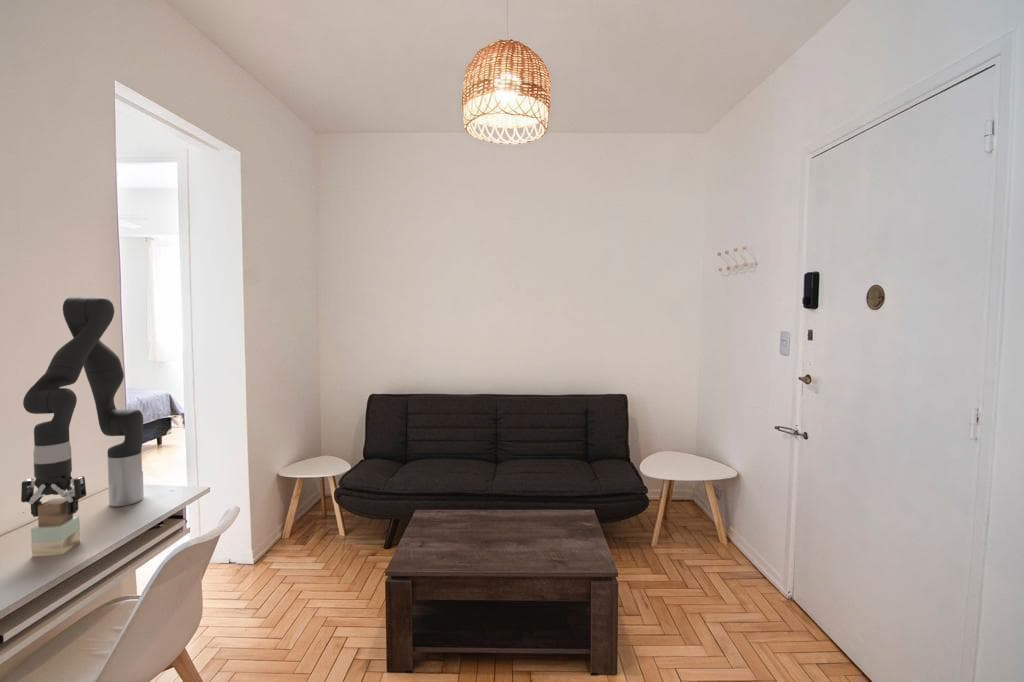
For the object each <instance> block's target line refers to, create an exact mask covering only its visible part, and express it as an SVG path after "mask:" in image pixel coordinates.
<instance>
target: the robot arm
mask: <svg viewBox="0 0 1024 682" xmlns="http://www.w3.org/2000/svg"><path fill="white" fill-rule="evenodd" d="M62 314H63V317H64V321H65V323H66V325H67V328H68V329H69V331H70V334H71V336H72V339H71V340H69V341H68V342H66V343H65V344H63V346H61V347H60V348H59V349H58V350H57V351H56V352H55V354H54V355H53V357H52V359H51V361H50V362H49V365H48V367H47V368H46V371H45V372H44V374H43V375H41V376H40V377H39V379H37V381H36V382H35V383H34V384H33V385H32V386H31V387H30V388H29V389H28V390H27V392H26V394H25V395H24V398H23V400H22V405H23V409H24V410H25V411H26V412H28V413H29V414H33V415H40V414H41V415H49V414H53V416H52V418H51V420H48V421H43V422H40V423H38V424H36V425H35V426H34V428H33V443H34V447H33V476H34V478H35V479H34V478H29V479H26V480H23V481H22V482H21V490H20V491H21V496H20V498H21V499H20V501H21V503H28V504H29V505H30V514H31V515H32V517H33V518H38V506H39V505H41V504H43V502H42V499H43V498H44V496H49V495H50V496H51V495H53V496H57V495H59V496H61V498H66V499H67V500H68V501H69V502H68V515H72V514H73V515H74V514H76V513H77V511H79V500H80V499H82V498H84V497H86V496H87V487H86V478H85V476H84V475H83V476H79V477H72V474H71V473H72V471H73V465H72V463H73V462H72V461H73V460H72V447H71V441H70V424H71V420H72V418H73V415H74V411H75V409H76V407H77V406H76V405H77V400H78V397H77V395H76V393H75V391H73V390H72V389H70V388H68V387H67V388H66V386H71V385H74V384H75V383H76V382H77V381H78V379H79V377H80V374H81V372H82V370H83V369H84V372H85V375H86V379H87V381H88V383H89V387H90V389H91V392H92V393H91V394H92V396H93V400H94V403H95V409H96V413H97V419H98V425H99V429H100V430H101V432H102V434H103V435H104V436H107V437H124V440H123V442H121V443H118V444H115V445H113V446H110V447H109V448H108V449H107V453H106V454H107V472H108V473H107V474H108V475H107V476H108V477H107V478H108V479H107V480H108V505H109V506H110V507H125V506H129V505H133V504H136V503H139V502H141V501H142V500H143V499H144V494H145V493H144V471H143V463H142V462H143V461H142V460H143V459H142V458H143V457H142V451H143V450H142V448H143V439H144V433H143V432H144V416H143V413H142V411H141V410H140V409H138V408H137V409H131V408H130V409H126V408H125V409H117V408H116V405H115V396H116V393H117V392H118V390H119V389H120V387H121V384H122V383H123V381H124V377H125V373H124V370H123V366H122V363H121V360H120V357H119V356H118V355H117V354H116V353H115V352H114V351H113V350H112V349H111V348H110V347H108V346H107V345H106V344H105V343H104V342H102V341H101V338H102V337H103V336H104V333H105V332H106V330H107V329H108V327H109V326H110V325H111V323H112V322H113V319H114V316H115V306H114V304H113V302H112V301H111V300H110V299H109V298H108V297H100V296H70V297H67V298H66V299H65V300H64V302H63V305H62ZM71 484H72V485H71ZM35 487H36V488H37V490H36V491H35Z"/></svg>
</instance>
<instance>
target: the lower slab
mask: <svg viewBox="0 0 1024 682" xmlns="http://www.w3.org/2000/svg"><path fill="white" fill-rule="evenodd" d="M80 531H81V529H80V530H78V531H77V532H75V533H74V534H72V535H70V536H69V537H67V538H66V539H64V540H62V541H57V542H42V543H32V542H31V543H30V544H31V558H32V557H45V556H47V557H49V556H58V555H60V556H61V555H63V554H65V553H66V552H68V551H69V550H71V549H72V548H73V547H75V546H76V545H78V544H80V543H81V536H80V535H81V533H80Z"/></svg>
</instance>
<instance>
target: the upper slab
mask: <svg viewBox="0 0 1024 682" xmlns="http://www.w3.org/2000/svg"><path fill="white" fill-rule="evenodd" d="M80 527H81V526H80V516H73V518H72V519H70V520H69V521H67V522H65V523H64V524H62V525H60V526H48V527H39V526H38V525H35V526H34V527H33V528H30V535H31V536H30V538H31V543H42V542H57V541H62V540H64V539H66V538H67V537H69V536H70V535H72V534H74V533H75V532H77V531H78V530H80V531H81V528H80Z"/></svg>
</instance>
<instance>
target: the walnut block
mask: <svg viewBox="0 0 1024 682" xmlns="http://www.w3.org/2000/svg"><path fill="white" fill-rule="evenodd" d="M68 502H69V501H68V500H67V499H66V498H65V497H61V498H51V499H48V500H47V501H45V502H42V504H41V505H39V506H38V516H37V521H38V524H37V526H39V527H48V526H60V525H62V524H64V523H65V522H67V521H69V520H70V519H72V518H73V517H74V514H72V515H68Z"/></svg>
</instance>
